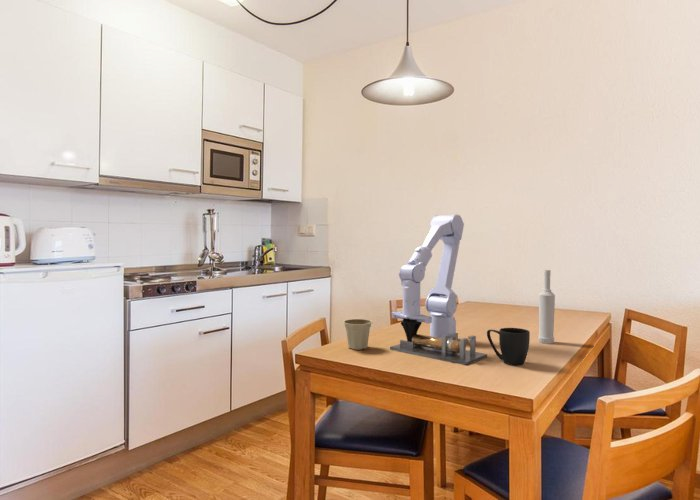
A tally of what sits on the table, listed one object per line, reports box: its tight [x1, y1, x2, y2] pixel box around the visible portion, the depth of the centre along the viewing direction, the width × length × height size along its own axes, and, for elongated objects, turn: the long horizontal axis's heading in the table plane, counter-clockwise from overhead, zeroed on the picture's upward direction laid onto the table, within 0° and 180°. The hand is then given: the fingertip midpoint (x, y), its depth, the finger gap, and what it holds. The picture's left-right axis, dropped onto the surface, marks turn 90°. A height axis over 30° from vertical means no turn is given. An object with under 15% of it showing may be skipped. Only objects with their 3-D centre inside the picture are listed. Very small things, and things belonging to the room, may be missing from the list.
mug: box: [486, 327, 531, 367], centre depth 135 cm, size 8×12×10 cm
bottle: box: [537, 269, 556, 345], centre depth 161 cm, size 5×5×25 cm
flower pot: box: [342, 318, 373, 351], centre depth 152 cm, size 9×9×9 cm
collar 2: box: [459, 335, 477, 359], centre depth 138 cm, size 7×1×6 cm, turn 138°
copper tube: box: [412, 333, 460, 353], centre depth 146 cm, size 16×4×4 cm, turn 48°
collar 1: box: [442, 332, 459, 355], centre depth 142 cm, size 7×1×6 cm, turn 138°
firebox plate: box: [389, 339, 488, 366], centre depth 145 cm, size 13×27×3 cm, turn 48°
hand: (411, 342), depth 152 cm, fingers closed
